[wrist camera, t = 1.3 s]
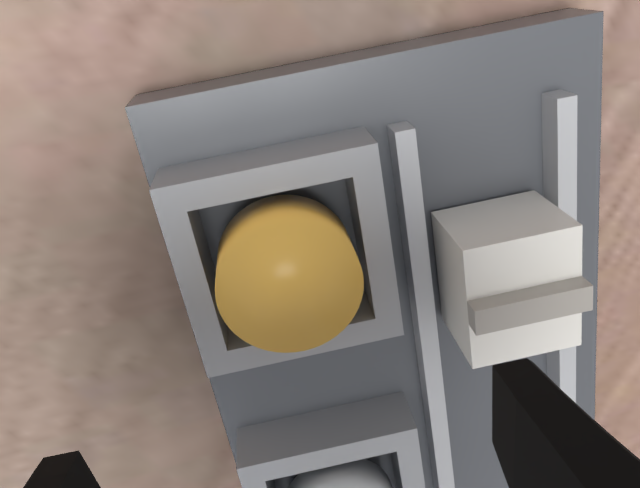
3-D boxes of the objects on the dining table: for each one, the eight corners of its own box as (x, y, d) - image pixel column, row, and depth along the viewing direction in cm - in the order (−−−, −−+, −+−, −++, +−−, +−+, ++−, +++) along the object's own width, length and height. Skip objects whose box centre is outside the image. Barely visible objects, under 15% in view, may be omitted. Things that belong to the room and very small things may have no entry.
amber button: (360, 301, 19) (373, 335, 17) (234, 328, 19) (234, 365, 17) (340, 181, 17) (352, 206, 15) (201, 210, 17) (197, 238, 15)
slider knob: (537, 297, 21) (592, 356, 18) (442, 317, 21) (479, 381, 18) (534, 190, 19) (594, 233, 16) (431, 212, 19) (470, 260, 16)
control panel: (569, 468, 28) (619, 543, 24) (269, 538, 27) (274, 624, 23) (569, 8, 19) (645, 15, 16) (135, 94, 19) (110, 123, 15)
